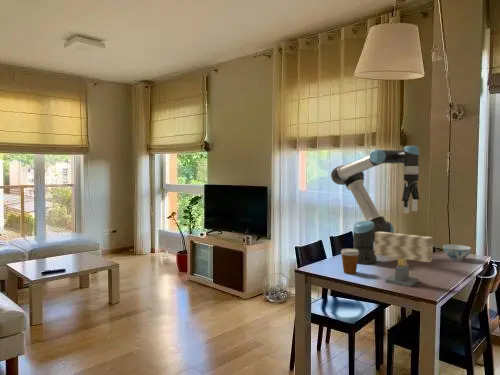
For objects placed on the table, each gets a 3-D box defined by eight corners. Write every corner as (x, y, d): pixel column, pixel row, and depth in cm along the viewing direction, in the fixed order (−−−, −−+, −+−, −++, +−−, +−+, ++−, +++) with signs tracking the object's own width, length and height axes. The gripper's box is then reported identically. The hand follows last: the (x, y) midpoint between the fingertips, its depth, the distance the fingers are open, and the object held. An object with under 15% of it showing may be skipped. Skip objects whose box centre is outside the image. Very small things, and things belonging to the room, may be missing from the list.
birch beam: (374, 254, 196) (374, 232, 195) (378, 252, 199) (378, 231, 199) (429, 262, 179) (429, 238, 178) (432, 260, 182) (432, 237, 182)
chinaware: (457, 256, 244) (457, 243, 243) (476, 261, 229) (477, 248, 229) (436, 257, 240) (437, 245, 240) (455, 263, 225) (456, 250, 225)
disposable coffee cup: (337, 272, 206) (337, 250, 206) (346, 269, 213) (346, 247, 213) (353, 276, 200) (353, 252, 199) (362, 272, 206) (362, 250, 206)
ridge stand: (385, 282, 189) (385, 257, 188) (394, 276, 198) (394, 253, 197) (410, 287, 181) (411, 261, 181) (418, 281, 190) (419, 256, 190)
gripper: (410, 174, 204) (409, 214, 205) (425, 173, 223) (424, 210, 224) (396, 174, 209) (395, 213, 210) (411, 173, 228) (411, 209, 229)
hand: (410, 212), depth 217 cm, fingers open, 13 cm apart
